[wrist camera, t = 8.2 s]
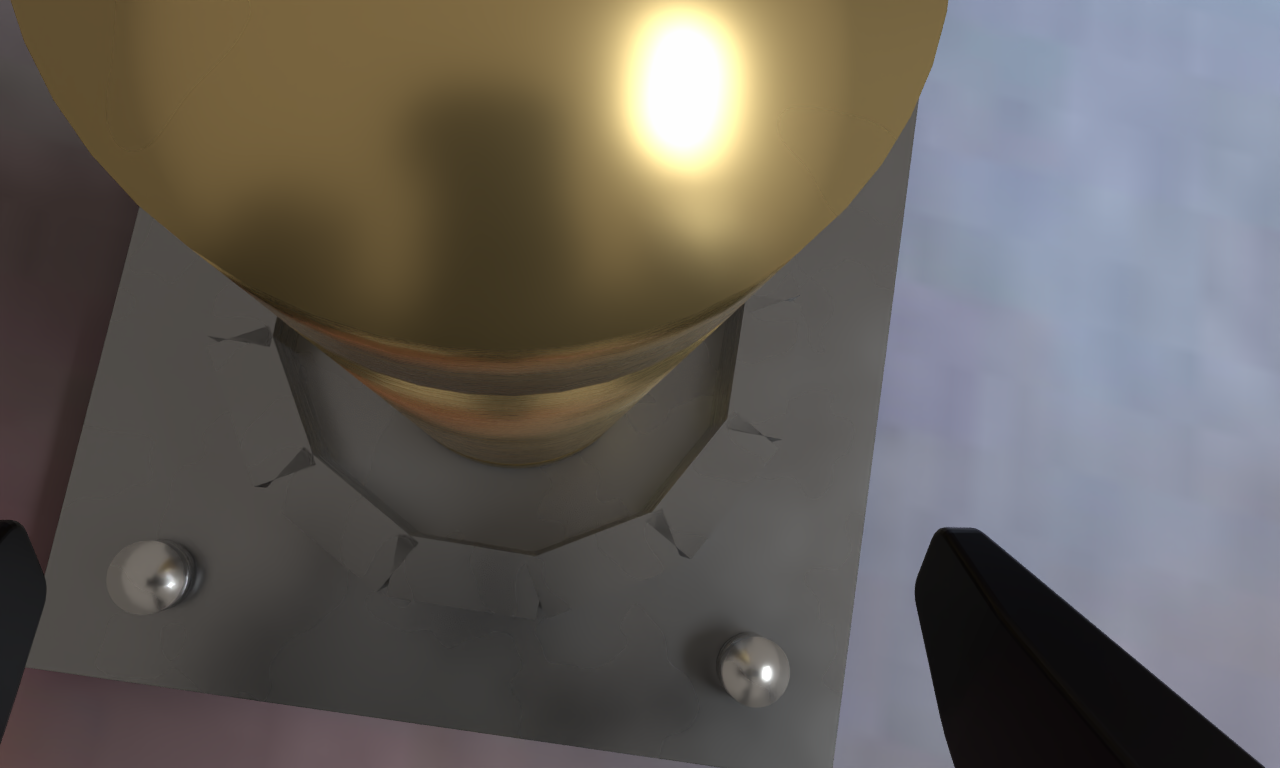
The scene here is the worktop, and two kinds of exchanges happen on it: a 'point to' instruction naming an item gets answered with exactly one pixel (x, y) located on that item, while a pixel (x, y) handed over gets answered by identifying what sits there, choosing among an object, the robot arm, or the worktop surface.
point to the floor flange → (485, 523)
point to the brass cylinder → (492, 175)
